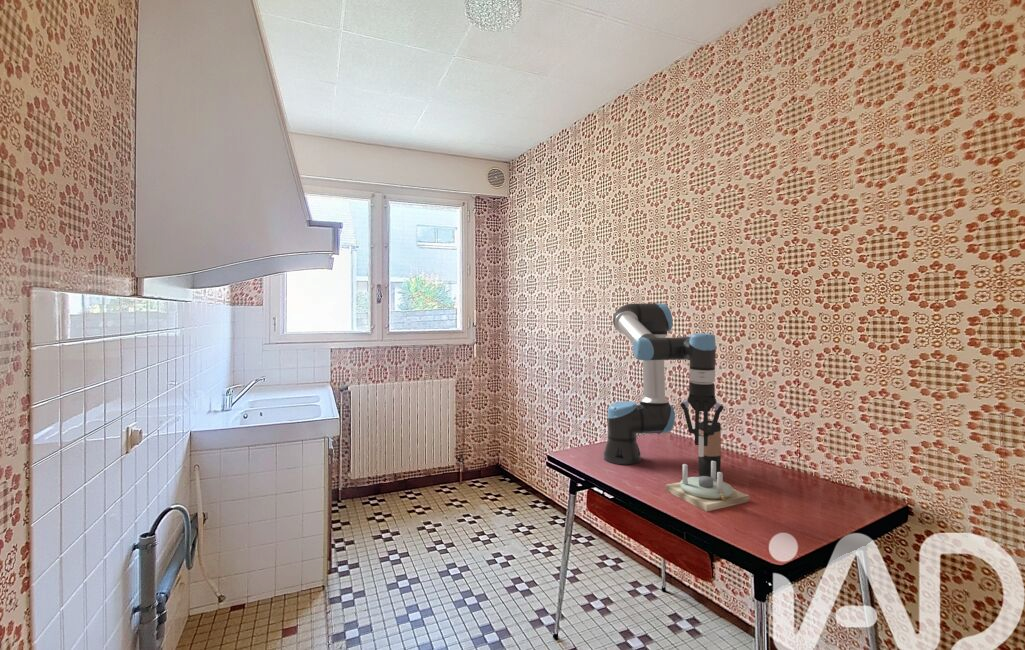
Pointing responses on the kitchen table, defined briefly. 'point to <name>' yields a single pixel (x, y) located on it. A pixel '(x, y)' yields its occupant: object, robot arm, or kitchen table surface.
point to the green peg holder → (706, 484)
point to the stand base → (707, 503)
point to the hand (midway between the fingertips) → (700, 455)
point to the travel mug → (710, 450)
